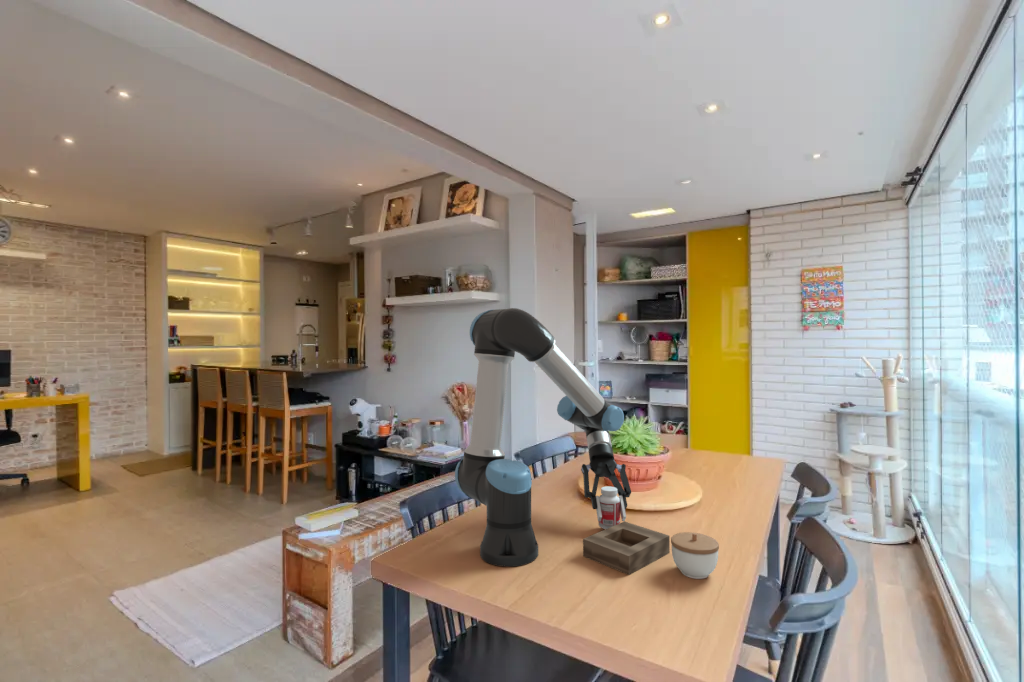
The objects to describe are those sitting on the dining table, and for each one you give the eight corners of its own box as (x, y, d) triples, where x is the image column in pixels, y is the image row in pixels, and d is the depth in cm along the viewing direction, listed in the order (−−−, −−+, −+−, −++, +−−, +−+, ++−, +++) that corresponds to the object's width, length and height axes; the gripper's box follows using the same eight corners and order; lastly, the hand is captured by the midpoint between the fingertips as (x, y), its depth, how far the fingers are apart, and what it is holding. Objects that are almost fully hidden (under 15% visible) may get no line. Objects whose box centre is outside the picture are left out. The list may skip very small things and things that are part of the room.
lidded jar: (714, 588, 113) (714, 546, 113) (665, 576, 119) (665, 536, 119) (722, 569, 122) (722, 530, 122) (677, 559, 128) (677, 522, 128)
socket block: (629, 575, 120) (628, 556, 120) (583, 556, 130) (583, 538, 130) (669, 552, 132) (669, 535, 132) (624, 537, 142) (624, 521, 142)
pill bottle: (612, 521, 151) (613, 484, 151) (624, 528, 146) (624, 490, 145) (594, 524, 149) (594, 486, 149) (605, 531, 143) (605, 492, 143)
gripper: (627, 455, 163) (642, 524, 147) (568, 455, 162) (576, 525, 146) (632, 442, 158) (648, 512, 141) (571, 442, 157) (580, 513, 141)
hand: (612, 519), depth 144 cm, fingers closed on pill bottle, 6 cm apart
